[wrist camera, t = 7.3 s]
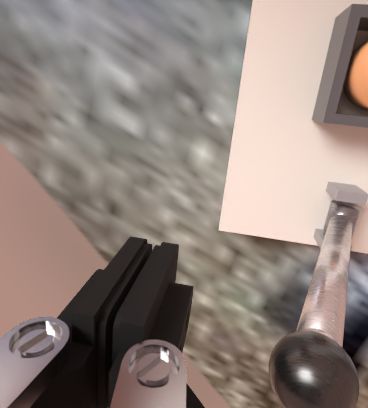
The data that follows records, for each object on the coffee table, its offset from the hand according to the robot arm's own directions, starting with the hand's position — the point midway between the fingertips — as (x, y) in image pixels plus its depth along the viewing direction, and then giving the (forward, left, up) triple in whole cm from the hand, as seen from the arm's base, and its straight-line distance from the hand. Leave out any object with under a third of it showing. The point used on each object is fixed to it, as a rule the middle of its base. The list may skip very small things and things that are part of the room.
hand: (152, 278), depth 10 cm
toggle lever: (-9, 0, -9) cm, 13 cm away
